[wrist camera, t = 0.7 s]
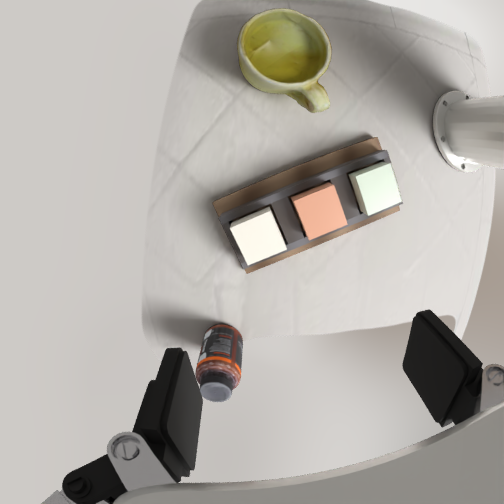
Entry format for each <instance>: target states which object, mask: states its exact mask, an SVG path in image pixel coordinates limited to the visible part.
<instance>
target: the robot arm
mask: <svg viewBox="0 0 504 504" xmlns="http://www.w3.org/2000/svg"><path fill="white" fill-rule="evenodd" d="M433 129H434V136H435V139H436V143H437V145H438V148H439V150H440V152H441V154H442V156H443V157H444V159H445V160H446V161H447V163H448V164H449V165H451V166H452V167H453V168H454V169H456V170H458V171H461V172H465V173H473V172H475V171H478V170H479V169H480V168H481V167H482V166H483V165H484V166H489V167H494V168H499V169H504V96H495V97H484V98H475V99H473V98H472V97H471V96H470V95H468V94H466V93H464V92H461V91H451V92H447V93H445V94H443V95H442V96H441V97H440V98H439V100H438V102H437V103H436V106H435V109H434V114H433ZM482 364H483V363H482V362H481V361H480V360H479V359H478V358H477V357H476V356H475V355H474V354H473V353H472V352H471V350H470V349H469V348H468V347H467V346H466V345H465V344H464V343H463V342H462V341H461V340H460V339H459V338H458V337H457V336H456V335H455V334H454V333H453V332H452V331H451V330H450V329H449V328H448V327H447V326H446V325H445V324H444V323H443V322H442V321H441V320H440V319H439V318H438V317H437V316H436V315H435V314H434V313H433V312H432V311H431V310H425V311H421V312H418V313H417V314H416V316H415V317H414V318H413V322H412V327H411V331H410V336H409V340H408V345H407V349H406V353H405V357H404V360H403V370H404V372H405V373H406V375H407V376H408V378H409V380H410V381H411V383H412V384H413V386H414V387H415V389H416V390H417V392H418V394H419V395H420V397H421V398H422V400H423V402H424V403H425V405H426V407H427V408H428V410H429V412H430V413H431V415H432V417H433V418H434V420H435V421H436V422H437V423H439V424H440V425H441V427H444V426H446V425H448V424H450V423H452V421H453V422H454V424H455V426H453V427H451V428H449V429H447V430H445V431H443V432H441V433H439V434H436V435H435V436H432V437H430V438H428V439H425V440H423V441H421V442H418V443H416V444H413V445H411V446H408V447H406V448H403V449H400V450H398V451H395V452H392V453H389V454H387V455H384V456H381V457H378V458H374V459H371V460H368V461H364V462H361V463H357V464H353V465H350V466H346V467H342V468H337V469H333V470H329V471H324V472H319V473H313V474H308V475H302V476H296V477H289V478H281V479H272V480H262V481H248V482H230V483H229V482H227V483H178V482H180V481H181V476H184V477H189V475H190V470H194V468H195V461H196V453H197V444H198V436H199V428H200V419H201V411H202V404H203V400H202V395H201V392H200V389H199V386H198V383H197V381H196V378H195V375H194V372H193V369H192V366H191V362H190V359H189V356H188V353H187V351H183V350H182V349H181V348H167V349H166V351H165V354H164V356H163V359H162V362H161V365H160V368H159V371H158V374H157V377H156V380H151V381H150V382H149V384H148V387H147V389H146V392H145V395H144V398H143V401H142V404H141V407H140V410H139V413H138V416H137V419H136V422H135V425H134V428H133V431H132V432H122V433H119V434H117V435H116V436H114V437H113V438H112V439H111V440H110V441H109V443H108V446H107V453H108V454H106V455H104V456H103V457H100V458H98V459H97V460H95V461H93V462H91V463H89V464H86V465H84V466H82V467H80V468H78V469H76V470H74V471H72V472H70V473H69V474H67V475H66V477H65V478H64V480H63V483H62V488H63V490H61V491H60V492H59V491H58V490H57V491H55V492H54V493H53V494H52V495H51V496H50V497H48V498H47V499H46V500H45V501H44V502H43V503H42V504H504V367H503V366H501V365H498V364H491V365H488V366H486V367H485V369H484V370H483V369H482V368H481V367H482Z"/></svg>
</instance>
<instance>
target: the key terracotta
mask: <svg viewBox="0 0 504 504" xmlns="http://www.w3.org/2000/svg"><path fill="white" fill-rule="evenodd" d="M291 199H292V202H293V204H294V206H295V209H296V211H297V214H298V216H299V219H300V221H301V224H302V226H303V229H304V231H305V234H306V236H307V237H308V239H309V240H311V239H314V238H316V237H319V236H321V235H324V234H326V233H328V232H331V231H333V230H336V229H338V228H340V227H343V226H345V225H348V224H347V221H346V218H345V215H344V212H343V209H342V206H341V203H340V200H339V197H338V195H337V192H336V189H335V186H334V185H333V184H331V183H326V184H323V185H321V186H318V187H316V188H313V189H311V190H308V191H306V192H303V193H301V194H298V195H296V196H293V197H291Z"/></svg>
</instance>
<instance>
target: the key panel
mask: <svg viewBox="0 0 504 504" xmlns="http://www.w3.org/2000/svg"><path fill="white" fill-rule="evenodd" d="M380 162H387V163H391V161H390V158H389V155H388V152H387V150H382V149H381V146H380V143H379V140H378V137H374V138H371V139H368V140H365V141H362V142H359V143H356V144H353V145H351V146H348V147H345V148H342V149H340V150H337V151H334V152H331V153H329V154H326V155H324V156H321V157H318V158H316V159H313V160H310V161H308V162H305V163H303V164H300V165H298V166H295V167H293V168H290V169H288V170H285V171H283V172H281V173H278V174H276V175H273V176H271V177H269V178H266V179H264V180H261V181H259V182H257V183H254V184H252V185H250V186H248V187H245V188H243V189H241V190H238V191H236V192H234V193H232V194H229V195H227V196H225V197H223V198H221V199H218V200H216V201H214V202H213V203H212V204H213V206H214V208H215V210H216V212H217V214H218V216H219V220H220V222H221V224H222V226H223V228H224V230H225V232H226V235H227V237H228V239H229V241H230V243H231V245H232V247H233V249H234V251H235V253H236V255H237V257H238V259H239V261H240V263H241V265H242V267H243V269H245V271H246V273H247V274H248V273H250V272H253V271H255V270H258V269H260V268H263V267H265V266H268V265H270V264H273V263H275V262H278V261H280V260H283V259H285V258H287V257H290V256H292V255H295V254H297V253H300V252H302V251H305V250H307V249H309V248H312V247H314V246H317V245H319V244H322V243H324V242H326V241H329V240H331V239H334V238H336V237H338V236H341V235H343V234H346V233H348V232H350V231H353V230H355V229H357V228H360V227H362V226H364V225H367V224H369V223H372V222H374V221H376V220H379V219H381V218H383V217H386V216H388V215H390V214H392V213H395V212H397V211H399V210H400V209H399V205H400V204H403V202H400V203H397V204H395V205H393V206H390V207H388V208H386V209H383V210H381V211H379V212H376V213H374V214H371V215H369V216H368V215H366V214H365V213H363V212H361V210H360V207H359V204H358V201H357V198H356V195H355V192H354V189H353V186H352V183H351V180H350V177H349V174H351V173H354V172H356V171H359V170H362V169H364V168H367V167H369V166H372V165H375V164H377V163H380ZM391 165H392V164H391ZM392 168H393V167H392ZM393 172H394V170H393ZM394 175H395V174H394ZM395 178H396V177H395ZM396 182H397V180H396ZM326 183H331V184H333V185H334V186H335V189H336V192H337V195H338V197H339V200H340V203H341V206H342V209H343V212H344V215H345V218H346V221H347V224H348V225H345V226H343V227H340V228H338V229H336V230H333V231H331V232H328V233H326V234H324V235H321V236H319V237H316V238H314V239H311V240H309V239H308V237H307V236H306V234H305V231H304V229H303V226H302V224H301V221H300V219H299V216H298V214H297V211H296V209H295V206H294V204H293V202H292V199H291V197H293V196H296V195H298V194H301V193H303V192H306V191H308V190H311V189H313V188H316V187H318V186H321V185H323V184H326ZM397 185H398V184H397ZM398 189H399V187H398ZM399 192H400V191H399ZM400 196H401V195H400ZM401 200H402V198H401ZM267 207H270V209H271V212H272V214H273V216H274V218H275V221H276V223H277V225H278V228H279V230H280V232H281V235H282V237H283V239H284V242H285V245H286V248H287V250H285V251H282V252H280V253H277V254H275V255H272V256H270V257H268V258H265V259H263V260H260V261H258V262H255V263H253V264H250V265H247V263H246V261H245V258H244V256H243V254H242V252H241V250H240V248H239V246H238V244H237V242H236V240H235V238H234V236H233V234H232V232H231V230H230V226H231V223H232V222H234V221H237V220H239V219H241V218H244V217H246V216H248V215H251V214H253V213H255V212H258V211H260V210H262V209H265V208H267Z"/></svg>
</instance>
